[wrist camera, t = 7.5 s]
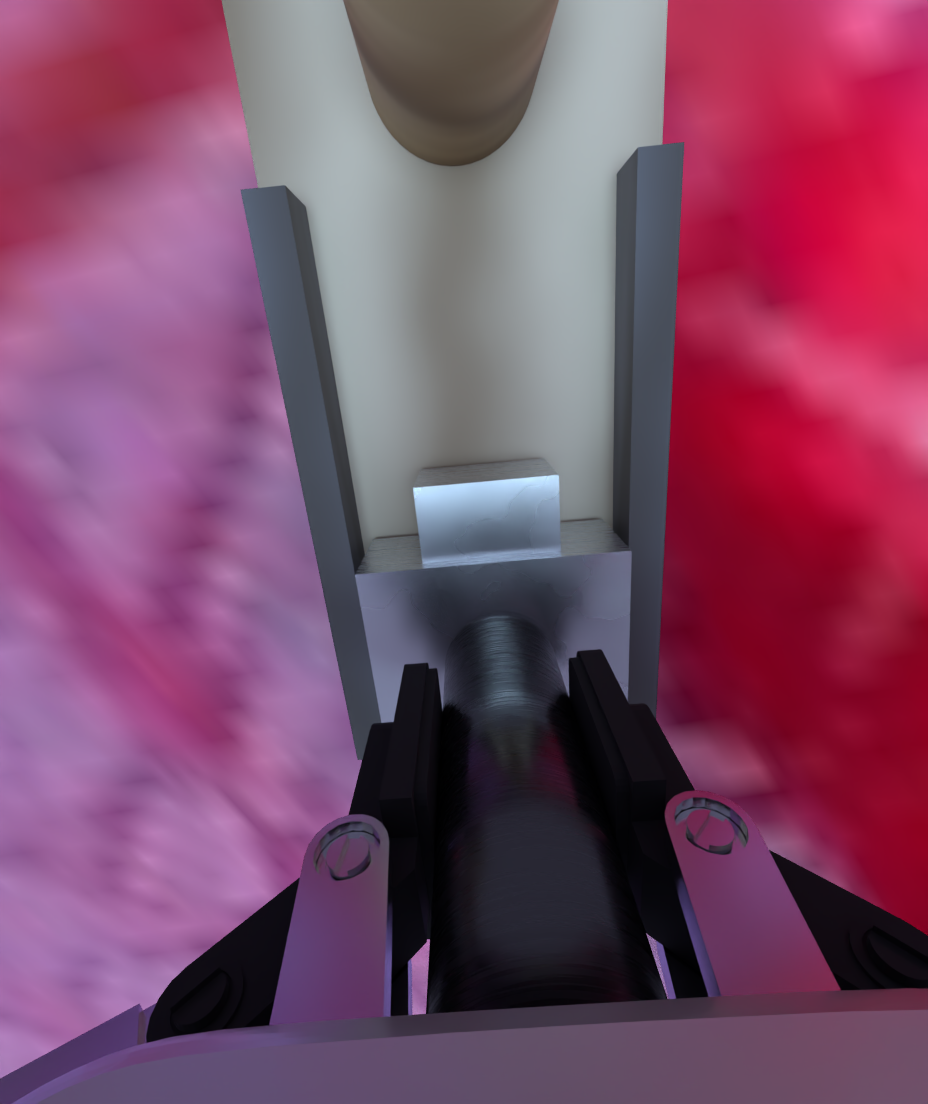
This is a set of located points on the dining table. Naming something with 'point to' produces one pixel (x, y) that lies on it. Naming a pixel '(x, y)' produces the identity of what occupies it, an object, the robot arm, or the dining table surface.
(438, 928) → the ram
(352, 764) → the dining table surface
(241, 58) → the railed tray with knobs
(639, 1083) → the robot arm
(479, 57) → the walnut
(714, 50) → the dining table surface
